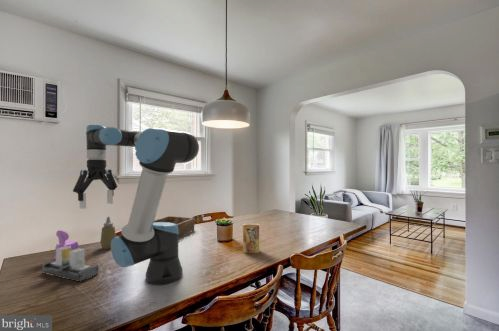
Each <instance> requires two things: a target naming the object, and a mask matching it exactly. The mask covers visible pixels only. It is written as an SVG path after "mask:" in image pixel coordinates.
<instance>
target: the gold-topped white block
mask: <svg viewBox="0 0 499 331" xmlns="http://www.w3.org/2000/svg"><path fill="white" fill-rule="evenodd" d="M85 251H86V250H85V248H80V247H78V249H75V250H72V251H69V261H70V272H73V273H78V272H80V271H83V270H85V269H87V268H90V267H91V265H87V264H86V263H85Z"/></svg>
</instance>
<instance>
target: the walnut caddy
mask: <svg viewBox="0 0 499 331" xmlns="http://www.w3.org/2000/svg"><path fill="white" fill-rule="evenodd" d="M155 222H169V223H174V224H176V225H177V226H178V233H179V234H178V239H179V237H180V238H182V237H185V235H188V234H190V233H192V232H194V231H195V217H185V216H183V217H182V216H175V215H167V216H164V217H161V218H158V219H154V223H155Z"/></svg>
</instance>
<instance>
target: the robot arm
mask: <svg viewBox="0 0 499 331" xmlns="http://www.w3.org/2000/svg"><path fill="white" fill-rule="evenodd" d="M85 135H86V137H85V138H86V159H87V160H86V168H87V170H86V169H81V170H80V173H79V176H78V179H77V181H76V183H75V185H74V187H73V190H72V192H73V193H76V194H77V201H78V202H79V209H84V210H85V209H87V193H86V190H87V189H88V188H89V187H90V185H91V184H92V182H93V181H96V180H97V181H98V180H100V181H101V182H102V183H103V184H104V185H105V187H106V188H107V190H106V200H107V201H106V203H107V204H114V201H113V200H114V199H113V198H114V196H115V195H114V194H115V192H114V190H117V188H118V185H117V183H116V180H115V178H114V176H113V172H112V171H113V170H112V169H106V168H107V146H113V147H116V146H117V147H130V148H134V150H135V153H134V154H135V156H136V159H137V160H138V161H139V162H138V163H139V165H140V167H141V169H142V170H141V174H140V176H139V181H138V185H137V188H136V191H135V197H134V200H133V204H132V207H131V211H130V215H129V218H128V221H127V222H128V223H127V224H125V225H124V226H122V228H121V231H120V235H116V237H115V238H113V239H112V241H111V249H110V251H111V255H112V258H113V260H114V262H115V264H117V265H118V266H119V267H120V268H128V267H131V266H132V267H133V266H134V265H137V264H140V263H141V262H144V261H147V260H149V263H148V264H147V268H146V271H145V281H146V283H148V284H149V285H156V286H157V285H158V286H160V285H162V286H163V285H167V284H171V283H173V282H176V281H178V280H179V279H181V278H182V277H183V272H184V271H183V266H182V265H181V264H182V262H181V260H180V257H179V238H178V234H179V233H178V226H177V225H176V224H174V223H169V222H155V223H154V220H156V217H157V212H158V208H159V206H160V202H161V198H162V195H163V192H164V189H165V186H166V185H165V184H166V183H167V182H166V181H167V178H168V175H169V174H172V173H173V172H174V171H175V167H176V164H181V163H182V164H184V163H188V162H191V161H192V160H194V159H195V158H196V157H197V156H198V154H199V150H200V144H199V141H198V140H197V138H196V137H195V136H194V135H193V134H192V133H189V132H186V131H180V130H179V131H178V130H173V129H166V128H162V127H149V128H146V129H145V130H143V131H138V130H126V129H120V128H117V127H114V126H107V127H105V126H104V125H100V124H89V125H87V126H86V132H85Z"/></svg>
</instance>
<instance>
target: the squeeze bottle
mask: <svg viewBox="0 0 499 331" xmlns="http://www.w3.org/2000/svg"><path fill="white" fill-rule="evenodd" d="M105 220H106V221H105V223H103V227H101V233H100V234H101V235H100V246H101V248H102V250H111V241H112V239H113V238H115V237H116V236H117V235H116V233H117V232H116V227H115V226H114V223H113V222H112V221H111V217H110V216H107V217H106V219H105Z"/></svg>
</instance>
